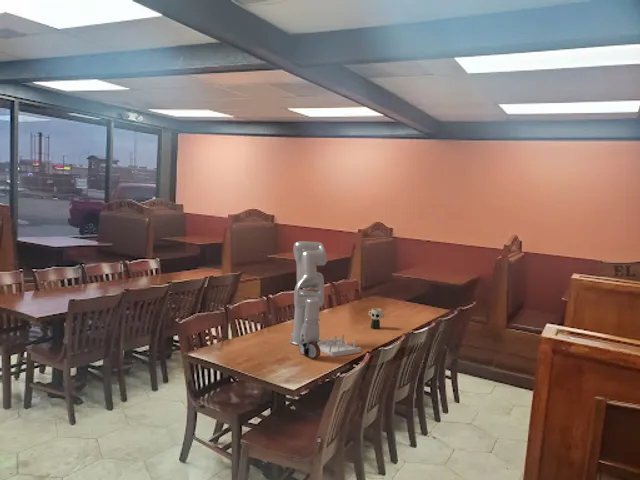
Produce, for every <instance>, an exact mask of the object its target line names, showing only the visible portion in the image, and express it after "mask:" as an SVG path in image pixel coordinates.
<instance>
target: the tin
mask: <svg viewBox="0 0 640 480" xmlns="http://www.w3.org/2000/svg"><path fill="white" fill-rule="evenodd" d="M303 343H304V341H303ZM308 348H309V352H308V356H307V355H305V354H304V347H303V345H301V344H299V345H298V351H299V353H301V355H303V356H305V357H308V358H310V359H318V358H320V355H321V351H320V348H319V346H318V344H317V343H314V342H311V343H309V344H308Z"/></svg>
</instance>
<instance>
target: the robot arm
mask: <svg viewBox="0 0 640 480" xmlns="http://www.w3.org/2000/svg"><path fill="white" fill-rule="evenodd" d="M292 251H293V256H294V260H295V262H296V264H295V265H296V284H295V287H294V291H293V304H294V316H293V330H292V331H293V332H292V333H290V336H291V338H290V339H289V343H290V344H292V345H295V346H299V344H301V345H303V347H304V354H305V355H307V356H308V352H309V348H308V344H309V343H311V342H314V343H318V342H320V339H319V338H320V324H319V321H320V320H321V319H320V307H322V306H324V302H325V283H324V282H325V280H324V275H323V274H322V273H321V272H318V271H317V266H322V267H323V266H326V264H327V253H326V249H325V247H324V244H323V243H322V242H320V241H308V240H307V241H306V240H305V241H304V240H302V241H301V240H299V241H297V242H295V243H294V244H293V249H292ZM302 288H305V289H302ZM303 341H304V343H303ZM305 355H304V356H305ZM307 356H306V357H307Z"/></svg>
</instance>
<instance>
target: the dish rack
mask: <svg viewBox="0 0 640 480" xmlns="http://www.w3.org/2000/svg"><path fill="white" fill-rule="evenodd" d="M337 336H338V335H335V336H334V338H333V339H330V337H329V336H327V337H326V340H322V338H321V337H319V339H320V342H318V343H317V344H318V346H319V348H320V352H322V353H325V354H326V355H328V356H329V357H330V356H331V357H332V358H335V357H340V356H347V355H352V354H358V353H361V351H362V347H361V346H360V347H356V339H353V340H352V341H353V344H352V345H351V344H348V340H345V334H342V336H341V337H342V338H337ZM344 340H345V341H344Z"/></svg>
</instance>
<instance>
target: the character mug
mask: <svg viewBox="0 0 640 480" xmlns="http://www.w3.org/2000/svg"><path fill="white" fill-rule="evenodd" d="M368 316H370V318H371V319H372V320H371V322H370V323H371V324H370V328H372V329H373V328H374V329H375V330H376V329H380V328H381V321H380V320H381V319H384V318H385V312H383V309H381V308H379V307H378V308H377V307H375V308H374V307H373V308H371V310H369V311H368Z"/></svg>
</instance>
